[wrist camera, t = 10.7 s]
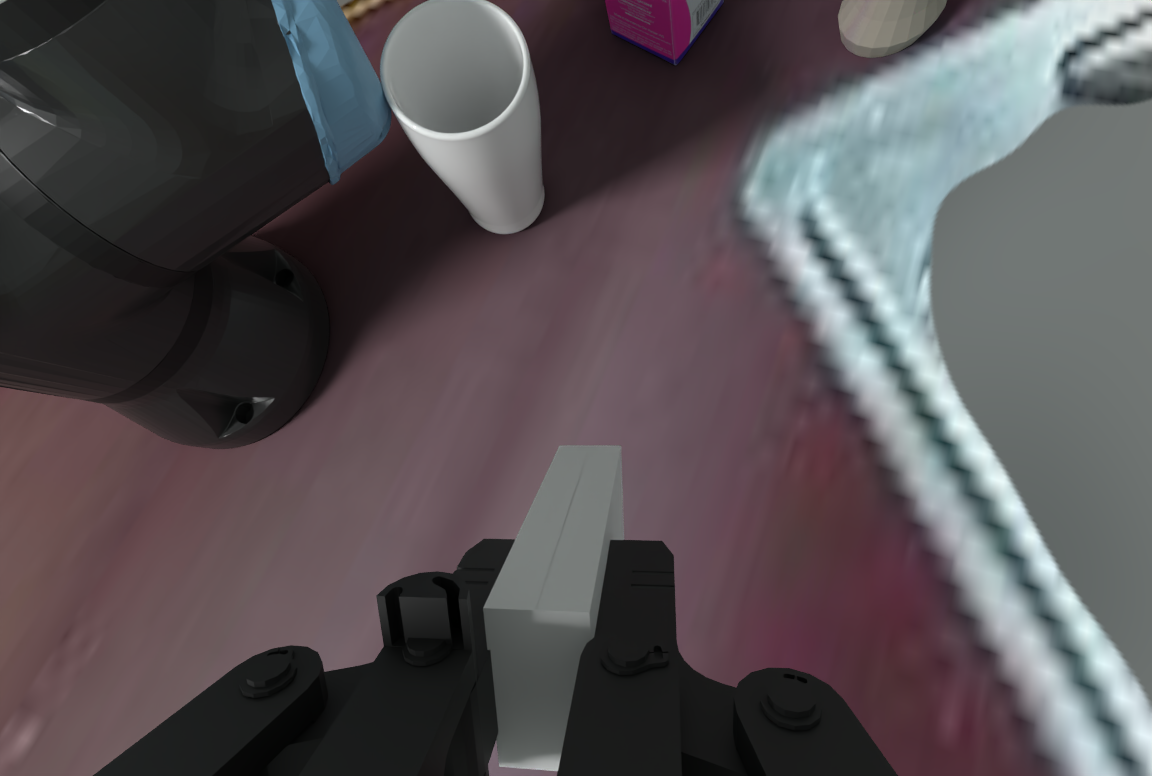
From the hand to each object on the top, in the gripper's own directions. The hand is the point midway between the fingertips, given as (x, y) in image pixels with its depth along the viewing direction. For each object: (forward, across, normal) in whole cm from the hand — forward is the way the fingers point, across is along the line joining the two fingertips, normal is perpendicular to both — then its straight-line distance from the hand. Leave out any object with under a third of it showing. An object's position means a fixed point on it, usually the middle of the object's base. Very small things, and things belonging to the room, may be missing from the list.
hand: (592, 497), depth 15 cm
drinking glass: (+29, -9, +9) cm, 31 cm away
